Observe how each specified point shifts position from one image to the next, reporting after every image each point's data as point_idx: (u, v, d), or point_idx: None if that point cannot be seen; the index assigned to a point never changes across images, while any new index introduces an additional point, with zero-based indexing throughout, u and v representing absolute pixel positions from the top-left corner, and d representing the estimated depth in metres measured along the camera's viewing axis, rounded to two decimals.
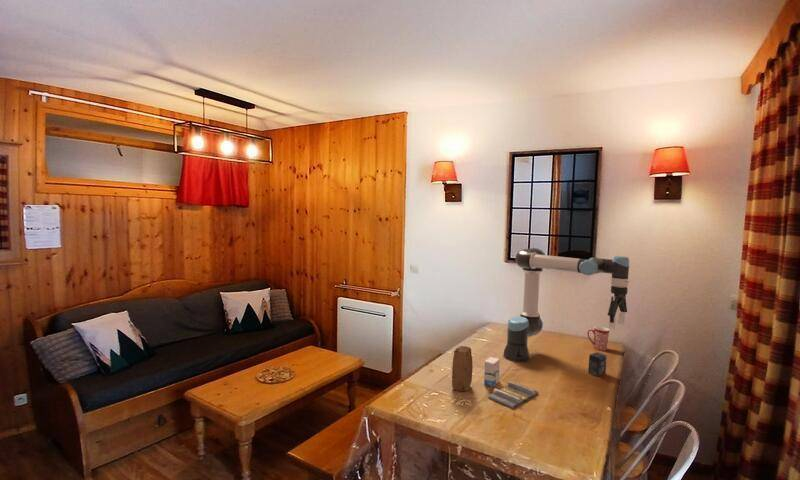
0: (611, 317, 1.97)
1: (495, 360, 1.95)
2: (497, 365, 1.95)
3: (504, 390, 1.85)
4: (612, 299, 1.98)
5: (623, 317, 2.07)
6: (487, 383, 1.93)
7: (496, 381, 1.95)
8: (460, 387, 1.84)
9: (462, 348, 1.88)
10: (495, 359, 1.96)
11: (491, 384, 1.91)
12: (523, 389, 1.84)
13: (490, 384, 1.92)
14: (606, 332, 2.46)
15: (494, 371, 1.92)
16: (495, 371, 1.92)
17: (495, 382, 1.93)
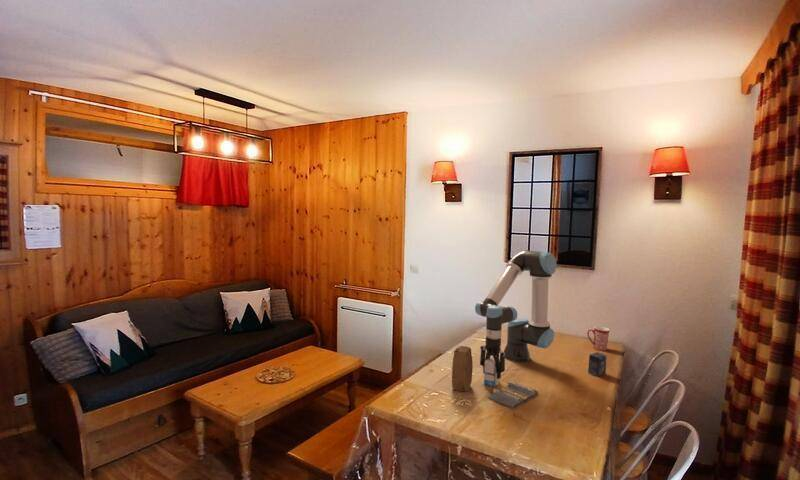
0: None
1: None
2: None
3: (504, 390, 1.85)
4: None
5: None
6: (487, 383, 1.93)
7: None
8: (460, 387, 1.84)
9: (462, 348, 1.88)
10: None
11: (491, 384, 1.92)
12: (523, 389, 1.84)
13: (490, 384, 1.92)
14: (606, 332, 2.46)
15: (494, 371, 1.92)
16: (495, 371, 1.92)
17: None
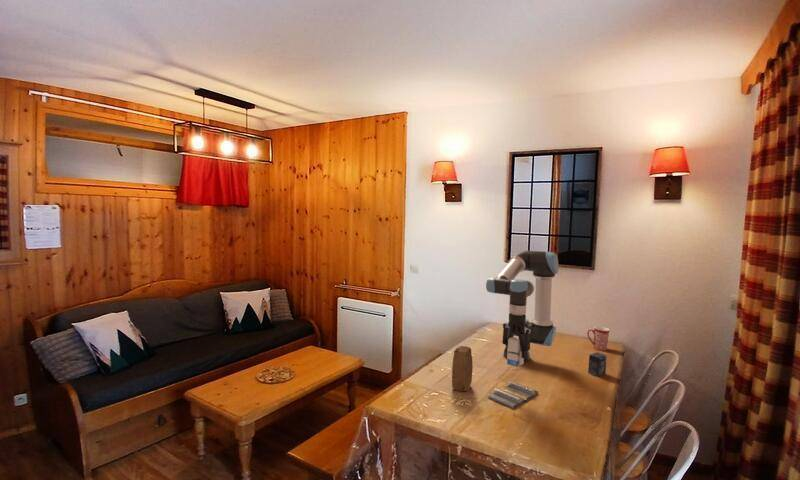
0: None
1: None
2: None
3: (504, 390, 1.85)
4: None
5: None
6: (510, 363, 1.78)
7: None
8: (460, 387, 1.84)
9: (462, 348, 1.88)
10: None
11: (515, 364, 1.77)
12: (523, 389, 1.84)
13: (514, 364, 1.77)
14: (606, 332, 2.46)
15: (518, 350, 1.77)
16: (519, 350, 1.78)
17: None
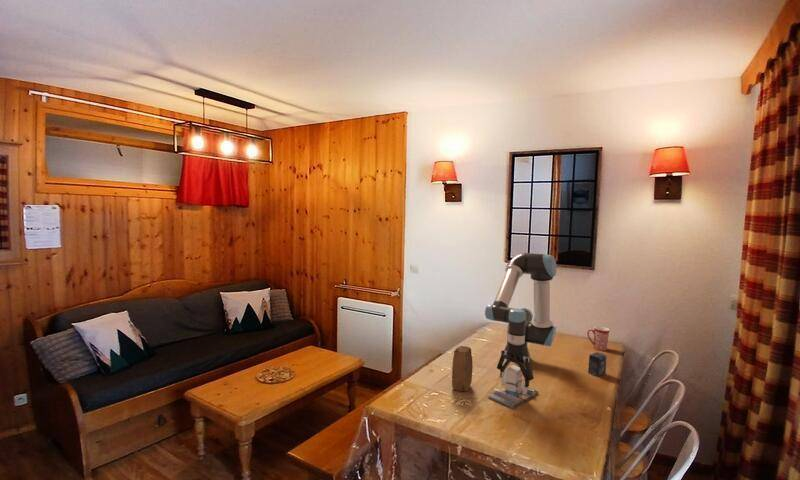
0: None
1: (517, 369, 1.81)
2: (519, 374, 1.81)
3: (504, 390, 1.85)
4: None
5: None
6: None
7: (518, 391, 1.81)
8: (460, 387, 1.84)
9: (462, 348, 1.88)
10: (517, 368, 1.83)
11: (513, 395, 1.78)
12: None
13: None
14: (606, 332, 2.46)
15: (516, 381, 1.78)
16: (517, 380, 1.79)
17: (517, 392, 1.79)
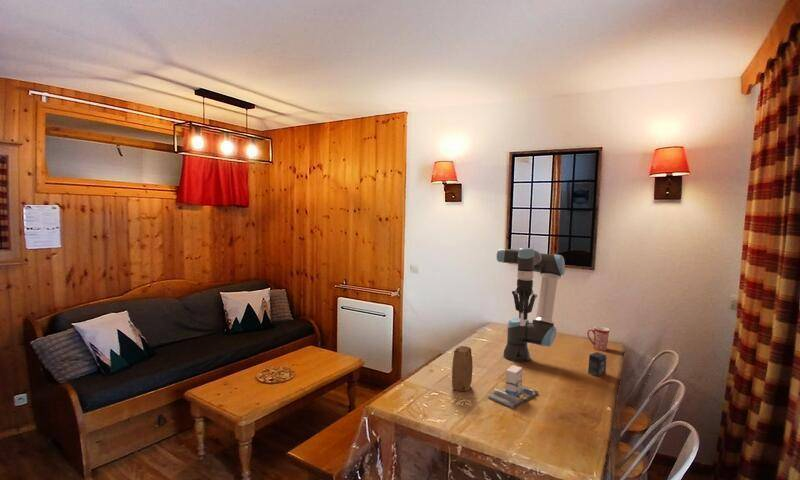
0: None
1: (517, 369, 1.81)
2: (519, 374, 1.81)
3: (504, 390, 1.85)
4: None
5: None
6: None
7: (518, 391, 1.81)
8: (460, 387, 1.84)
9: (462, 348, 1.88)
10: (517, 368, 1.83)
11: (513, 395, 1.78)
12: (523, 389, 1.84)
13: None
14: (606, 332, 2.46)
15: (516, 381, 1.78)
16: (517, 380, 1.79)
17: (517, 392, 1.79)
